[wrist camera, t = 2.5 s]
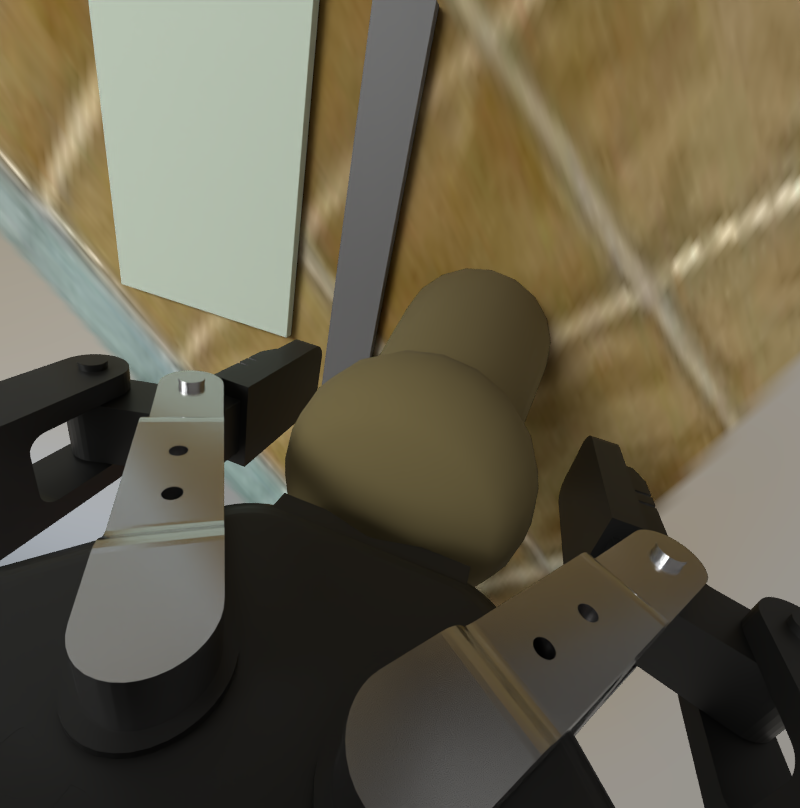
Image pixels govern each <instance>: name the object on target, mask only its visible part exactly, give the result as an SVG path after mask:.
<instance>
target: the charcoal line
mask: <svg viewBox="0 0 800 808" xmlns="http://www.w3.org/2000/svg"><path fill="white" fill-rule="evenodd" d="M438 9H439V4H438V2H437V0H373V1H372V9H371V16H370V24H369V31H368V39H367V47H366V54H365V62H364V69H363V77H362V85H361V92H360V100H359V107H358V115H357V123H356V130H355V138H354V145H353V153H352V161H351V168H350V176H349V183H348V191H347V199H346V206H345V214H344V221H343V229H342V237H341V244H340V252H339V259H338V267H337V275H336V282H335V290H334V297H333V305H332V313H331V320H330V328H329V335H328V343H327V351H326V358H325V366H324V373H323V381H322V385H323V384H324V383H326V382H327V381H328V380H329V379H331V378H332V377H334V376H335V375H337V374H338V373H340V372H342V371H343V370H345V369H346V368H348V367H350V366H351V365H353V364H354V363H356V362H358V361H359V360H361V359H366V358H371V357H372V355H373V350H374V345H375V340H376V334H377V329H378V324H379V319H380V313H381V308H382V303H383V298H384V292H385V287H386V282H387V277H388V271H389V266H390V261H391V256H392V250H393V245H394V240H395V235H396V229H397V224H398V219H399V214H400V208H401V203H402V198H403V193H404V187H405V182H406V177H407V172H408V166H409V161H410V156H411V151H412V146H413V140H414V135H415V130H416V125H417V119H418V114H419V109H420V104H421V98H422V93H423V88H424V83H425V77H426V72H427V67H428V62H429V56H430V51H431V46H432V41H433V35H434V30H435V25H436V20H437V14H438Z"/></svg>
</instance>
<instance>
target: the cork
mask: <svg viewBox="0 0 800 808" xmlns="http://www.w3.org/2000/svg"><path fill="white" fill-rule="evenodd" d="M550 343H551V342H550V336H549V330H548V324H547V318H546V316H545V315H544V313H543V311H542V309H541V307H540V306H539V304H538V302H537V300H536V298H535V297H534V296H533V295H532V294H531V293H530V292H529V291H527V290H526V289H525V288H524V287H523V286H522V285H521V284H519V283H518V282H517V281H516V280H515V279H512V278H510V277H507V276H505V275H502V274H500V273H497V272H495V271H492V270H481V269H463V270H459V271H455V272H452V273H448V274H444V275H441V276H440V277H439V278H437V279H436V280H434V281H433V282H431V283H430V284H428V285H427V286H425V287H424V288H422V289H421V291H420V292H419V293H418V295H417V296H416V297H415V298H414V300H413V301H412V302H411V304H410V305H409V306H408V308H407V309H406V311H405V313H404V315H403V316H402V318H401V320H400V321H399V323H398V325H397V326H396V328H395V330H394V332H393V333H392V335H391V337H390V338H389V340H388V342H387V343H386V345H385V347H384V348H383V350H382V352H381V354H380V355H379V356H375V357H371V358H366V359H361V360H359V361H358V362H356V363H354V364H353V365H351V366H350V367H348V368H346V369H345V370H343V371H342V372H340V373H338V374H337V375H335V376H334V377H332V378H331V379H329V380H328V381H327V382H326V383H324V384H323V385H322V386H321V387H319V388H318V390H317V391H316V393H315V394H314V395H313V397H312V398H311V400H310V401H309V402H308V404H307V405H306V407H305V408H304V409H303V411H302V412H301V413H300V415H299V417H298V419H297V421H296V423H295V425H294V427H293V429H292V432H291V437H290V441H289V445H288V449H287V454H286V458H285V476H286V484H287V492H288V494H289V495H291V496H294V497H296V498H299V499H301V500H304V501H306V502H309V503H311V504H314V505H316V506H319V507H321V508H324V509H326V510H328V511H330V512H331V513H333V514H334V515H336V516H337V517H339V518H340V519H342V520H343V521H345V522H346V523H348V524H349V525H351V526H352V527H354V528H355V529H357V530H358V531H360V532H361V533H363V534H364V535H366V536H368V537H371V538H374V539H379V540H385V541H390V542H396V543H401V544H406V545H412V546H417V547H422V548H425V549H427V550H430V551H432V552H435V553H437V554H440V555H443V556H445V557H448V558H450V559H453V560H455V561H458V562H460V563H463V564H465V565H468V566H470V572H469V577H468V582H467V583H469V584H470V585H472V586H473V587H475V586H477V585H478V584H480V583H482V582H483V581H485V580H486V579H488V578H489V577H491V576H492V575H494V574H495V573H496V572H498V571H499V570H500V569H502V568H503V567H505V566H506V564H507V563H508V562H509V560H510V559H511V557H512V556H513V554H514V553H515V552H516V550H517V549H518V547H519V546H520V545H521V543H522V542H523V540H524V538H525V536H526V534H527V532H528V529H529V527H530V525H531V522H532V518H533V513H534V508H535V503H536V498H537V493H538V470H537V465H536V460H535V455H534V450H533V444H532V439H531V435H530V434H529V432H528V430H527V428H526V426H525V425H524V422H525V420H526V417H527V415H528V412H529V409H530V407H531V404H532V402H533V399H534V397H535V394H536V391H537V389H538V386H539V384H540V381H541V378H542V376H543V373H544V371H545V368H546V365H547V360H548V354H549V349H550Z"/></svg>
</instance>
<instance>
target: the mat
mask: <svg viewBox="0 0 800 808" xmlns="http://www.w3.org/2000/svg"><path fill="white" fill-rule="evenodd" d="M88 1H89V9H90V18H91V26H92V35H93V43H94V52H95V60H96V69H97V77H98V86H99V94H100V103H101V111H102V120H103V129H104V137H105V146H106V154H107V163H108V171H109V180H110V188H111V197H112V205H113V214H114V222H115V231H116V240H117V248H118V257H119V265H120V274H121V282H122V284H124V285H127V286H130V287H133V288H136V289H139V290H142V291H145V292H148V293H151V294H154V295H157V296H160V297H164V298H167V299H170V300H173V301H176V302H179V303H182V304H185V305H188V306H191V307H194V308H197V309H200V310H203V311H206V312H210V313H213V314H216V315H219V316H222V317H225V318H228V319H231V320H234V321H237V322H240V323H243V324H246V325H249V326H252V327H255V328H259V329H262V330H265V331H268V332H271V333H274V334H277V335H280V336H283V337H288V336H290V335H291V328H292V317H293V305H294V293H295V281H296V270H297V258H298V246H299V234H300V223H301V211H302V199H303V187H304V175H305V164H306V152H307V140H308V128H309V117H310V105H311V93H312V81H313V70H314V58H315V46H316V34H317V22H318V11H319V0H88Z"/></svg>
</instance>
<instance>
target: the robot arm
mask: <svg viewBox="0 0 800 808" xmlns="http://www.w3.org/2000/svg"><path fill="white" fill-rule="evenodd" d="M321 359H322V350H321V348H320V347H319V346H316V345H312V344H309V343H306V342H303V341H300V340H294V341H292V342H290V343H288V344H286V345H284V346H283V347H281V348H279V349H273V350H267V351H262V352H259V353H257V354H255V355H253V356H251V357H249V359H248V358H247V359H245V360H243V361H241V362H240V364H239V363H237V364H235V365H233V366H231V367H229V368H227V369H225V370H223V371H221V372H218V373H216V374H214V375H213V374H211V373H207V372H202V371H179V372H174V373H171V374H168V375H166V376H164V377H162V378H161V379H160V381H159V383H158V384H155V383H149V382H142V381H136V380H130V372H129V364H128V363H127V362H126V361H125V360H123V359H121V358H119V357H115V356H110V355H101V354H99V355H98V354H90V355H81V356H75V357H71V358H67V359H64V360H61V361H58V362H56V363H53V364H50V365H47V366H44V367H41V368H38V369H35V370H32V371H29V372H26V373H23V374H20V375H17V376H14V377H11V378H9V379H6V380H3V381H0V560H2V559H3V558H4V557H6V556H7V555H9V554H10V553H12V552H13V551H15V550H16V549H17V548H19V547H20V546H22V545H23V544H25V543H26V542H28V541H29V540H30V539H32V538H33V537H34V536H36V535H38V534H39V533H40V532H42V531H43V530H45V529H46V528H48V527H49V526H51V525H52V524H53V523H55V522H56V521H58V520H59V519H61V518H62V517H64V516H65V515H67V514H68V513H69V512H71V511H72V510H74V509H75V508H77V507H78V506H80V505H81V504H82V503H84V502H85V501H86V500H88V499H90V498H91V497H92V496H94V495H95V494H97V493H98V492H100V491H101V490H103V489H104V488H105V487H107V486H108V485H110V484H111V483H113V482H114V481H116V480H117V479H118V478H120V477H121V476H122V478H121V481H120V485H119V488H118V491H117V495H116V498H115V501H114V504H113V508H112V511H111V515H110V518H109V521H108V524H107V528H106V531H105V533H104V535H103V536H102V537H101V538H98V539H97V540H96V541H92V542H89V543H85V544H82V545H78V546H74V547H71V548H67V549H64V550H60V551H56V552H52V553H49V554H45V555H41V556H38V557H34V558H30V559H27V560H23V561H20V562H16V563H13V564H9V565H5V566H1V567H0V808H615V806H614V805H613V803H612V801H611V799H610V798H609V796H608V794H607V793H606V791H605V789H604V787H603V785H602V784H601V782H600V780H599V778H598V777H597V775H596V773H595V771H594V770H593V768H592V766H591V764H590V762H589V761H588V759H587V757H586V755H585V754H584V752H583V750H582V749H581V747H580V745H579V743H578V741H577V740H576V738H575V735H576V734H577V733H578V732H579V731H580V730H581V728H582V727H583V726H584V725H585V724H586V722H587V721H588V720H589V719H590V718H591V717H592V716H593V715H594V714H595V712H596V711H597V710H598V709H599V708H600V707H601V706H602V705H603V704H604V702H605V701H606V700H607V699H608V698H609V697H610V696H611V695H612V694H613V693H614V691H615V690H616V689H617V688H618V687H619V686H620V685H621V684H622V682H623V681H624V680H625V679H626V678H627V677H628V676H629V675H630V674H631V673H632V672H633V670H634V669H635V668H636V667H637V666H638V667H640V668H641V669H642V670H644V671H645V672H647V673H648V674H650V675H651V676H653V677H654V678H656V679H657V680H658V681H660V682H661V683H663V684H664V685H666V686H667V687H668V688H670V689H672V690H673V691H674V692H676V693H677V694H678V698H679V702H680V707H681V711H682V715H683V719H684V723H685V728H686V732H687V736H688V740H689V744H690V748H691V753H692V756H693V761H694V765H695V770H696V774H697V778H698V781H699V786H700V790H701V795H702V798H703V803H704V807H705V808H800V607H798V606H796V605H794V604H792V603H790V602H787V601H785V600H782V599H778V598H774V597H765V598H763V599H761V600H760V601H759V602H758V603H757V604H756V605H755V606H754V607H753V608H752V609H751V610H750V609H748V608H746V607H745V606H743V605H741V604H739V603H737V602H736V601H734V600H732V599H730V598H729V597H727V596H725V595H723V594H722V593H720V592H718V591H716V590H714V589H713V588H711V587H710V586H708V585H707V584H706V582H707V580H708V575H707V572H706V569H705V568H704V566H703V565H702V563H701V562H700V561H699V559H698V558H697V557H696V556H695V555H694V554H693V553H692V552H691V551H690V550H688V549H687V548H686V547H685V546H683V545H682V544H680V543H679V542H677V541H676V540H674V539H672V538H670V537H668V535H667V533H666V530H665V528H664V526H663V523H662V521H661V518H660V516H659V513H658V511H657V509H656V508H655V504H654V501H653V499H652V497H650V496H651V494H650V491H649V489H648V487H647V484H646V482H645V481H644V480H643V479H642V478H641V477H640V475H639V474H638V473H637V472H636V471H635V470H634V469H633V468H630V467H627V466H626V464H625V461H624V459H623V456H622V453H621V450H620V447H619V445H617V444H614V443H611V442H608V441H605V440H602V439H599V438H596V437H593V436H588V437H587V438H586V439H585V441H584V442H583V444H582V446H581V448H580V450H579V452H578V454H577V456H576V458H575V460H574V462H573V464H572V466H571V468H570V470H569V472H568V473H567V475H566V477H565V479H564V482H563V484H562V487H561V490H560V494H559V513H560V526H561V538H562V551H563V564H564V565H563V566H561V567H559V568H558V569H556V570H555V571H553V572H552V573H550V574H548V575H547V576H545V577H544V578H542V579H541V580H539V581H537V582H536V583H534V584H533V585H531V586H530V587H528V588H526V589H525V590H523V591H522V592H520V593H519V594H517V595H515V596H514V597H512V598H511V599H509V600H508V601H506V602H504V603H503V604H501V605H500V606H498V607H496V606H495V605H494V604H493V603H492V602H491V601H490V600H489V599H488V598H487V597H486V596H485V595H483V594H482V593H481V592H480V591H478V590H477V589H476V588H475V587H473V586H472V585H470V584H469V583H467V582H468V577H469V572H470V566H468V565H465V564H463V563H460V562H458V561H455V560H453V559H450V558H448V557H445V556H443V555H440V554H437V553H435V552H432V551H430V550H427V549H425V548H422V547H417V546H412V545H406V544H401V543H396V542H390V541H385V540H379V539H374V538H371V537H368V536H366V535H364V534H363V533H361V532H360V531H358V530H357V529H355V528H354V527H352V526H351V525H349V524H348V523H346V522H345V521H343V520H342V519H340V518H339V517H337V516H336V515H334V514H333V513H331V512H330V511H328V510H326V509H324V508H321V507H319V506H316V505H314V504H311V503H309V502H306V501H304V500H301V499H299V498H296V497H294V496H291V495H289V494H286V493H284V494H283V495H282V496H281V498H280V499H279V500H278V501H277V502H276V503H275V504H274V505H270V504H261V503H242V504H233V505H226V506H224V462H225V461H227V460H229V461H231V462H234V463H236V464H239V465H241V466H244V467H245V466H246V465H247V464H248V463H249V462H251V461H252V460H253V459H254V458H255V457H256V456H257V455H259V454H260V453H261V452H262V451H263V450H264V449H266V448H267V447H268V446H269V445H270V444H271V443H273V442H274V441H275V440H276V439H277V438H278V437H280V436H281V435H282V434H283V433H284V432H285V431H287V430H288V429H289V428H290V427H291V426H292V425H294V424H295V423H296V421H297V419H298V417H299V415H300V413H301V412H302V411H303V409H304V408H305V407H306V405H307V404H308V402H309V401H310V400H311V398H312V397H313V395H314V394H315V393H316V391H317V388H318V380H319V373H320V366H321ZM65 422H67V425H68V431H69V436H70V441H71V444H69V445H67V446H65V447H63V448H62V449H60V450H58V451H56V452H54V453H52V454H50V455H49V456H47V457H45V458H43V459H41V460H39V461H37V462H36V463H34V464H32V462H31V458H30V449H31V446H32V444H33V443H34V441H35V440H36V439H37V438H38V437H39V436H40V435H41V434H43V433H44V432H46V431H48V430H50V429H52V428H55V427H57V426H59V425H61V424H63V423H65ZM784 729H786V731H787V733H788V735H789V738H790V740H791V743H792V745H793V749H794V753H795V769H794V773H793V775H792V776H791V773H790V771H789V768H788V766H787V763H786V761H785V758H784V756H783V754H782V751H781V749H780V746H779V744H778V742H777V739H776V736H777V735H778V734H780V733H781V732H782V731H783V730H784Z"/></svg>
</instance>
